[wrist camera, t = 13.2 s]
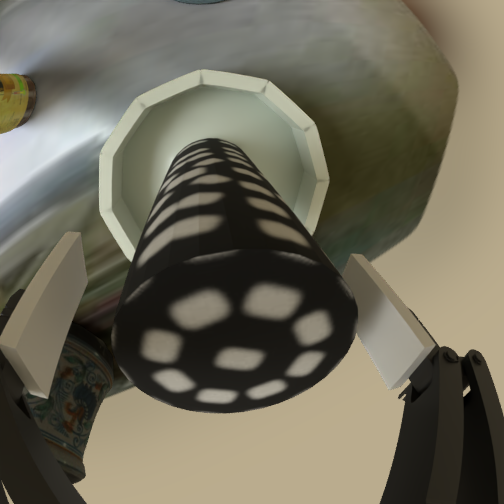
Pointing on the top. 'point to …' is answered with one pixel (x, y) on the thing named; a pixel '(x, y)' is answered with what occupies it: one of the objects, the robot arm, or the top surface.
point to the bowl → (201, 127)
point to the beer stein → (73, 398)
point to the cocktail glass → (199, 1)
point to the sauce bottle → (15, 100)
